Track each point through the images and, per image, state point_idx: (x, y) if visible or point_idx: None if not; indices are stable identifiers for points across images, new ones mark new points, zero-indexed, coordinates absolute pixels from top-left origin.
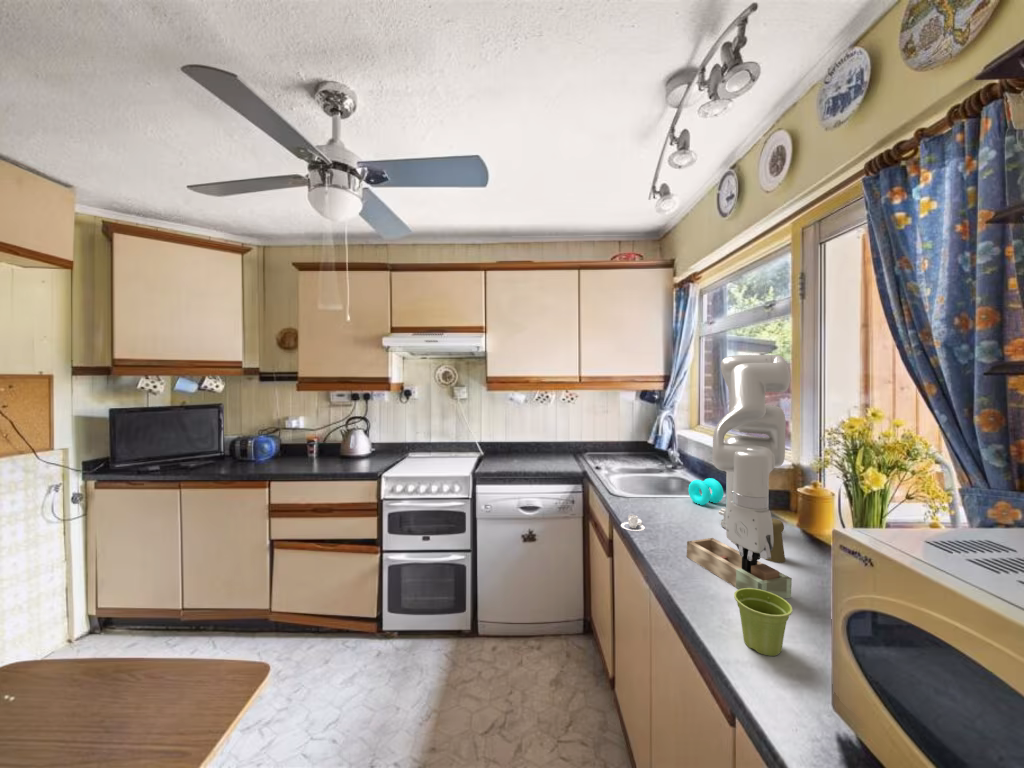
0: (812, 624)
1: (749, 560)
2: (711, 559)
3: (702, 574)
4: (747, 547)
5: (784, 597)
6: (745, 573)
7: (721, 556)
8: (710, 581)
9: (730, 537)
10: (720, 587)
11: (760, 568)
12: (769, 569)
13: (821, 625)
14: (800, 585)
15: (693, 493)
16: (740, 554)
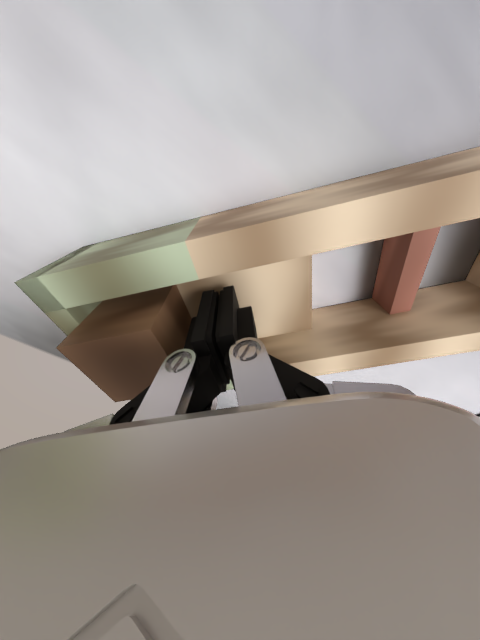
0: (6, 323)
1: (181, 350)
2: (399, 181)
3: (355, 89)
4: (63, 454)
5: None
6: (131, 266)
7: (411, 295)
8: (268, 90)
9: (388, 445)
10: (198, 119)
11: (122, 355)
12: (125, 382)
13: (15, 339)
14: (219, 395)
15: None
16: (258, 345)
